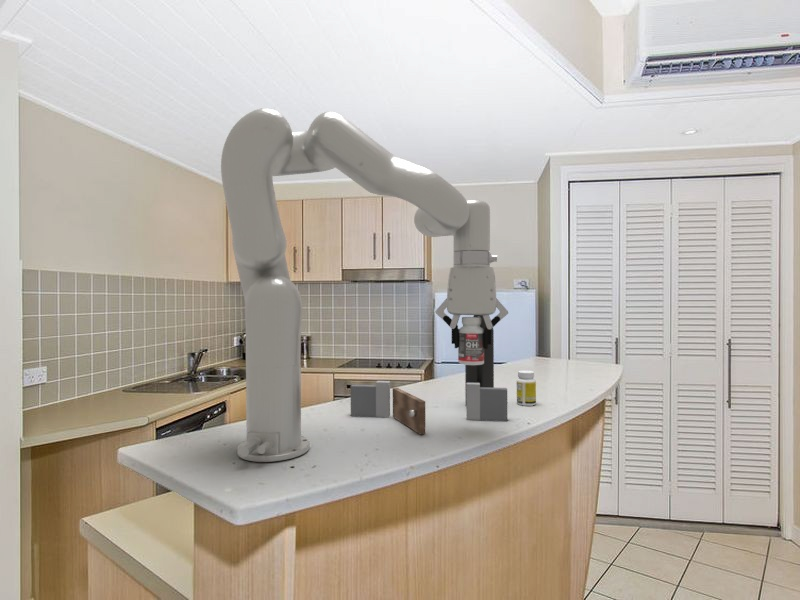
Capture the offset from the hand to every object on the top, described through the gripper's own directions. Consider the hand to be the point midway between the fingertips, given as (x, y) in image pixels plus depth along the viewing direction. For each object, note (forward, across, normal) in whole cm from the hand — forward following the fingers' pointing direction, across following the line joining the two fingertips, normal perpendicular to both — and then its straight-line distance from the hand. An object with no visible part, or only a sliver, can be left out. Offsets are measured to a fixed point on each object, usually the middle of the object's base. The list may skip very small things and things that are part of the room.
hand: (471, 347), depth 95 cm
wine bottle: (+17, -1, -20) cm, 27 cm away
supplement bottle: (+17, -13, -25) cm, 33 cm away
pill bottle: (+4, 0, 0) cm, 4 cm away
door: (+17, +14, 0) cm, 22 cm away
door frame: (+17, +10, -8) cm, 21 cm away
